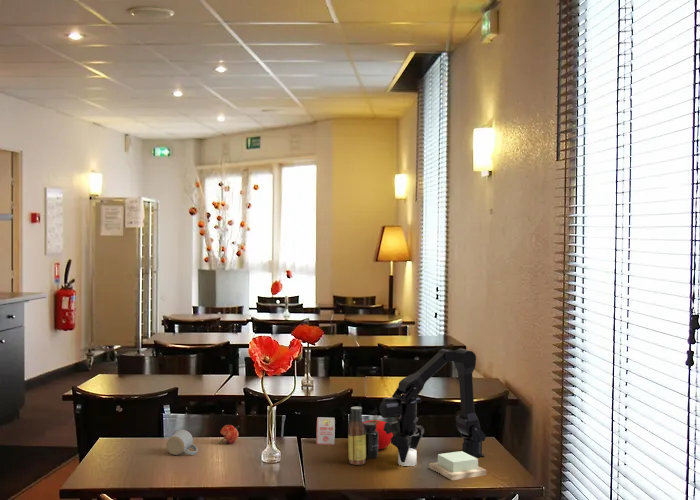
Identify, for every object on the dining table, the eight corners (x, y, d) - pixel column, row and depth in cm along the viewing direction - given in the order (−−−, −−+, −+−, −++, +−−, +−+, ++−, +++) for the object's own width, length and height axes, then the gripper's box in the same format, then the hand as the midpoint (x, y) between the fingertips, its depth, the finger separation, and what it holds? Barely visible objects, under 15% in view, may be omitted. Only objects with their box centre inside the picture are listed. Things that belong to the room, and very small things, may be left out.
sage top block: (461, 460, 281) (461, 451, 281) (477, 469, 272) (478, 458, 272) (437, 464, 277) (437, 454, 276) (453, 472, 268) (453, 462, 267)
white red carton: (317, 441, 308) (317, 416, 308) (334, 442, 308) (334, 416, 308) (316, 444, 305) (316, 418, 304) (333, 444, 304) (334, 418, 304)
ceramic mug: (164, 455, 287) (165, 434, 286) (173, 449, 295) (174, 428, 294) (192, 457, 285) (193, 436, 284) (200, 451, 293) (201, 430, 293)
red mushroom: (223, 452, 299) (244, 435, 301) (211, 436, 299) (233, 420, 301) (224, 448, 307) (244, 432, 308) (212, 433, 307) (233, 417, 308)
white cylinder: (410, 460, 286) (410, 447, 286) (419, 465, 280) (420, 451, 280) (394, 462, 283) (395, 448, 283) (403, 467, 277) (404, 453, 277)
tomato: (399, 446, 303) (399, 419, 303) (382, 454, 292) (382, 426, 292) (367, 440, 311) (367, 414, 311) (349, 448, 300) (350, 421, 300)
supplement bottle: (376, 459, 286) (377, 426, 286) (358, 458, 288) (358, 425, 287) (379, 454, 293) (380, 421, 293) (361, 452, 295) (362, 420, 294)
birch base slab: (462, 465, 284) (462, 458, 284) (486, 477, 271) (486, 470, 271) (429, 470, 277) (429, 463, 277) (451, 482, 265) (451, 475, 265)
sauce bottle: (368, 462, 283) (369, 406, 282) (361, 466, 277) (362, 410, 277) (352, 459, 286) (353, 404, 285) (344, 464, 280) (345, 408, 279)
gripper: (396, 407, 293) (395, 449, 293) (377, 418, 276) (376, 462, 276) (424, 410, 288) (424, 453, 289) (407, 422, 271) (406, 467, 272)
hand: (407, 458), depth 281 cm, fingers open, 9 cm apart
